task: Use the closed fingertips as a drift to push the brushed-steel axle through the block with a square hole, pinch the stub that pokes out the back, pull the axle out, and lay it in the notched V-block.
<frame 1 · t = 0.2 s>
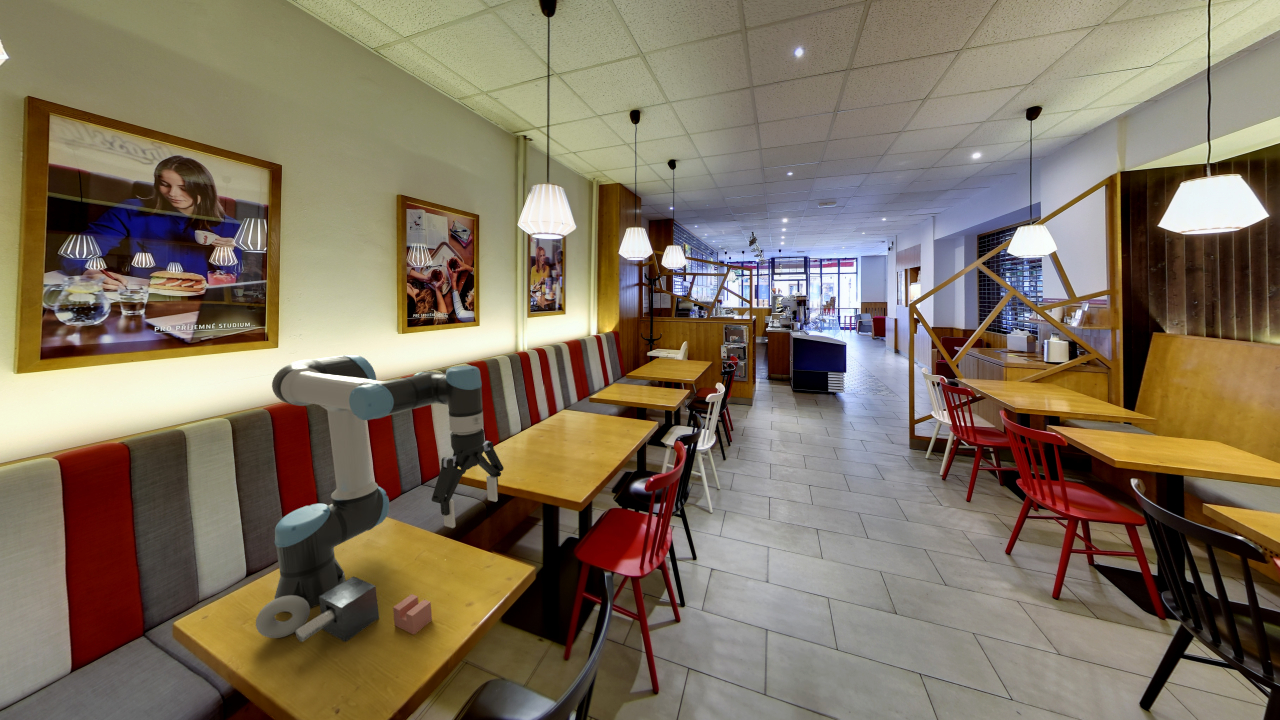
hand: (472, 512, 100), 28 cm above the table, fingers open, 13 cm apart
axle: (333, 613, 96), point 5 cm above the table, touching block with square hole
v block: (413, 622, 100), on the table
donut: (286, 635, 97), on the table
block with square hole: (351, 623, 100), on the table
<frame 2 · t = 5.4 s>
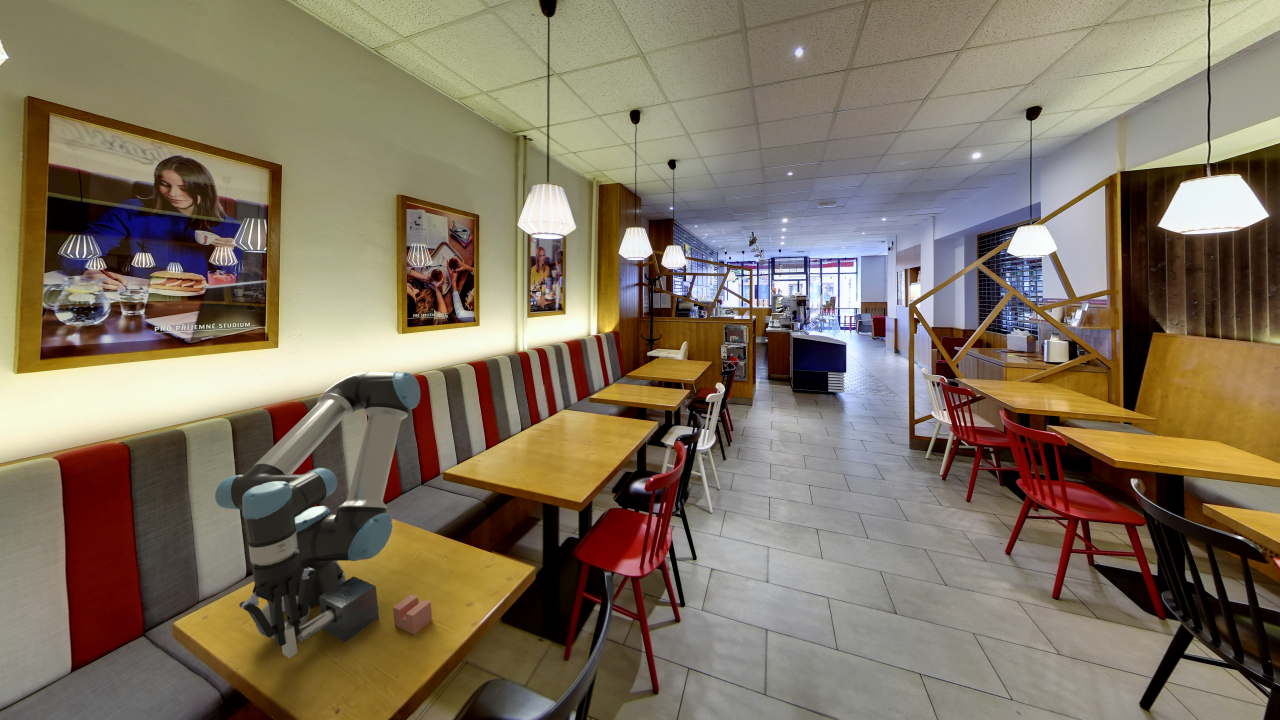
hand: (290, 653, 88), 3 cm above the table, fingers closed
axle: (333, 613, 96), point 6 cm above the table, tilted 6°, touching gripper
everything else where it was.
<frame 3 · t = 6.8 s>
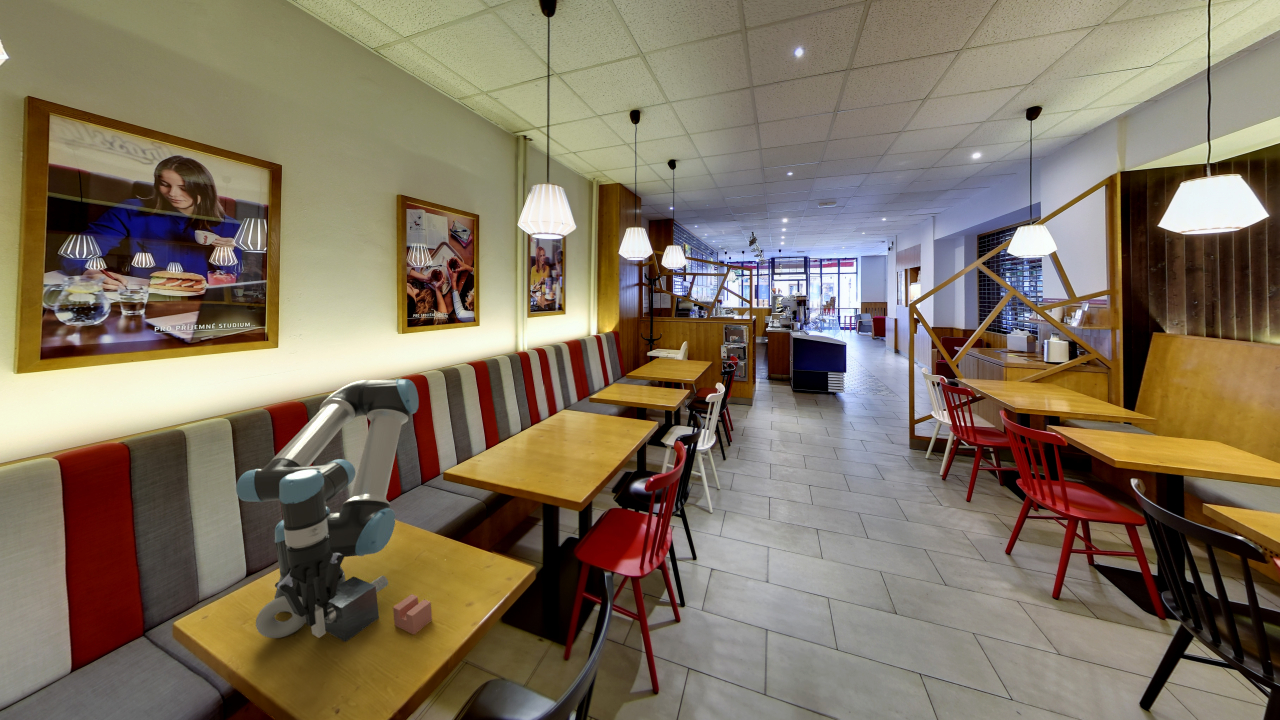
hand: (318, 633, 93), 3 cm above the table, fingers closed
axle: (357, 598, 101), point 6 cm above the table, tilted 6°, touching block with square hole, gripper
everything else where it was.
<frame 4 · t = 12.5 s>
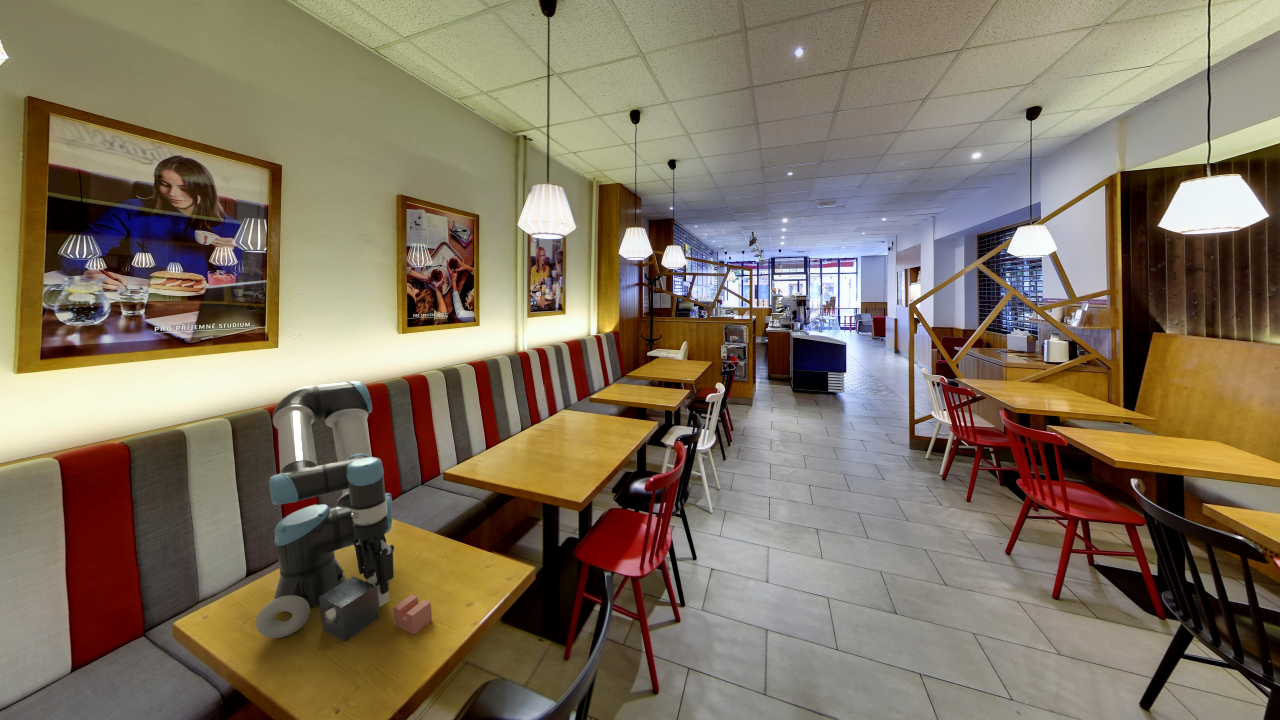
hand: (379, 600, 106), 1 cm above the table, fingers closed on axle, 3 cm apart
axle: (358, 598, 101), point 6 cm above the table, tilted 8°, touching block with square hole, gripper
everything else where it was.
when the fingers open (3 cm above the table, at t = 19.9 s): axle drops 1 cm, resting on v block.
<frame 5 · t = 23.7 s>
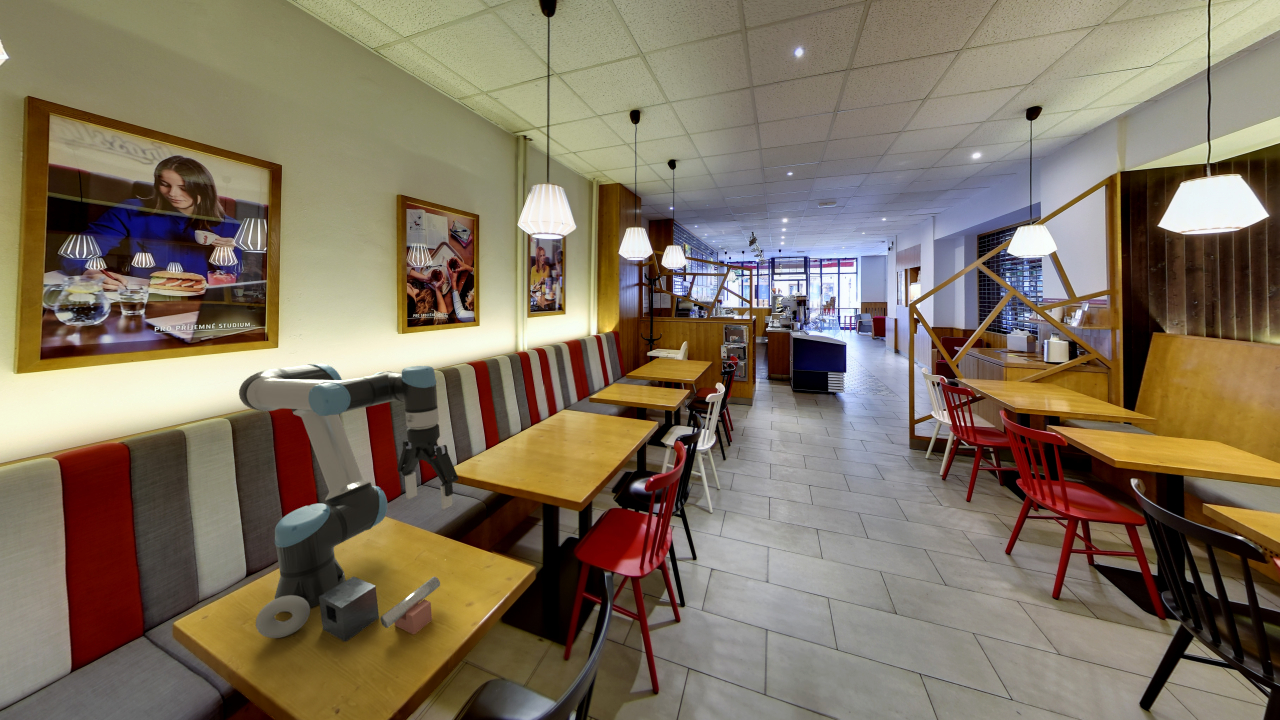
hand: (429, 501, 107), 27 cm above the table, fingers open, 13 cm apart
axle: (411, 600, 100), point 6 cm above the table, tilted 9°, touching v block
everything else where it was.
at the end: axle 0.1 cm off-centre on the v block, point 6.0 cm above the v block's base; axle touching v block; the gripper is holding nothing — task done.
